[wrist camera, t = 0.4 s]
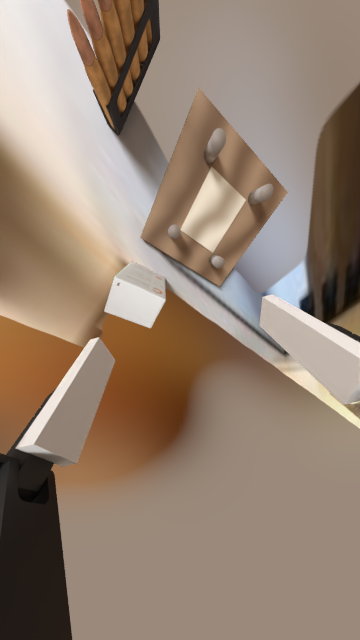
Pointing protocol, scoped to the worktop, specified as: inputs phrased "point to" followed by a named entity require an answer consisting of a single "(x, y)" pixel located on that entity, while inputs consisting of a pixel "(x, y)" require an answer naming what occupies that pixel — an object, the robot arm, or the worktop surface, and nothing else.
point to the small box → (137, 295)
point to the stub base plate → (211, 196)
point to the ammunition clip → (117, 51)
